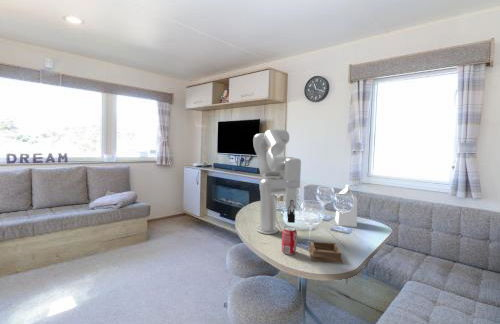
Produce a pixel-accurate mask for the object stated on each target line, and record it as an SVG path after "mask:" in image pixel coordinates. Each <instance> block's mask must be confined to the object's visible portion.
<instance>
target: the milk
mask: <svg viewBox="0 0 500 324" xmlns="http://www.w3.org/2000/svg"><path fill="white" fill-rule="evenodd" d="M338 194H349V195H353V197H354V207H353V209H352V210H351V211H350V212H347V213H343V214H342V213H341V212H340V211H339V212H338V211H336V210H335V218H334V220H335V222H336V224H337V226H341V227H353V228H357V227H358V226H357V225H358V222H357V221H358V218H357V217H358V197H357V196H356V195H355V193H353V192H352V191H351V185H350V184H345V188H343V189H342V190H340V191H339V193H338Z"/></svg>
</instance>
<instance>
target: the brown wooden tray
mask: <svg viewBox="0 0 500 324" xmlns="http://www.w3.org/2000/svg"><path fill="white" fill-rule="evenodd" d="M308 248H309V249H308V252H309V256H310V261H312V262H322V263H323V262H324V263H333V264H336V263H337V264H344V259H343V258H342V252H341V251H340V249H339V247H338V245H337V243H336V242H323V241H313V240H312V241H310V245H309V246H308Z"/></svg>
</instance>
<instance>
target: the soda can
mask: <svg viewBox="0 0 500 324" xmlns="http://www.w3.org/2000/svg"><path fill="white" fill-rule="evenodd" d="M297 241H298V231H297V228H296V227H295V226H290V225H289V226H284V227H283V229H282V235H281V251H282V253H284V254H286V255H294V254H296V252H297V244H298V242H297Z"/></svg>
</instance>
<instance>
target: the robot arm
mask: <svg viewBox="0 0 500 324" xmlns="http://www.w3.org/2000/svg"><path fill="white" fill-rule="evenodd" d="M252 142H253V148H254V152H255V154H256V156H257V161H258V169H259V174H260V176H262V178H263V179H261V180H260V181H259V193H260V202H259V203H260V206H259V207H260V211H259V212H260V213H259V226H257V228H256V231H257V232H258V233H261V234H264V235H274V234H277V233H278V232H279V228H278V227H277V203H278V202H277V200H276V198H275V197H274V195H285V202H284V203H285V206H284V207H285V209H286V210H287V213H286V216H287V223H289V224H290V223H291V224H292V223H293V224H294V223H296V222H295V221H296V214H295V210H296V209H297V205H298V204H297V201H298V189H300V188H301V171H302V169H301V167H302V161H301V159H300V158H297V157H293V156H278V155H281V154H283V152H284V151H285V149H286V145H287V144H288V143H289V142H290V134H289V132H288V131H287V130H286V129H277V128H276V129H275V128H274V129H273V128H271V129H268V130H266V131H265V132H264V133H263V132H261V133H256V134H255V135H253V139H252ZM267 148H268V149H267Z"/></svg>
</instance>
